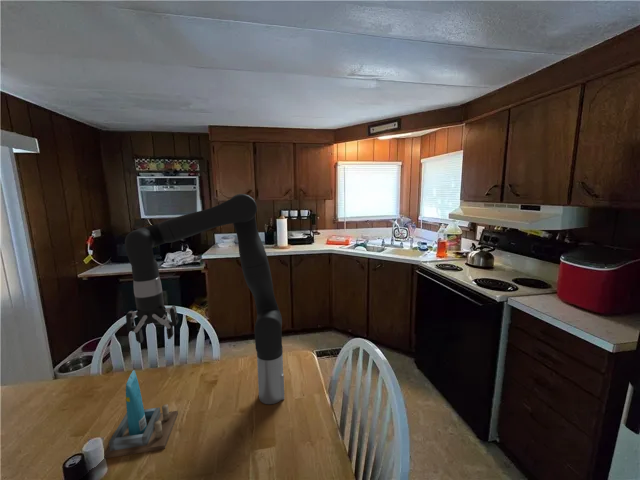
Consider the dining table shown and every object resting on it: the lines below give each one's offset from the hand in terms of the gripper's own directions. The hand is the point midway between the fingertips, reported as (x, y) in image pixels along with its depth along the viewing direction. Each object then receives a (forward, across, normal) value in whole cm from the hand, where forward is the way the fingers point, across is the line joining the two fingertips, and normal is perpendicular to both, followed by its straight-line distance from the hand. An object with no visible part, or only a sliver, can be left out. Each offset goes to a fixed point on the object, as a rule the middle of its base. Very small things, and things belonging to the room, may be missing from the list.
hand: (155, 339), depth 94 cm
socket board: (+28, +5, +6) cm, 29 cm away
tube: (+27, +7, +6) cm, 29 cm away
